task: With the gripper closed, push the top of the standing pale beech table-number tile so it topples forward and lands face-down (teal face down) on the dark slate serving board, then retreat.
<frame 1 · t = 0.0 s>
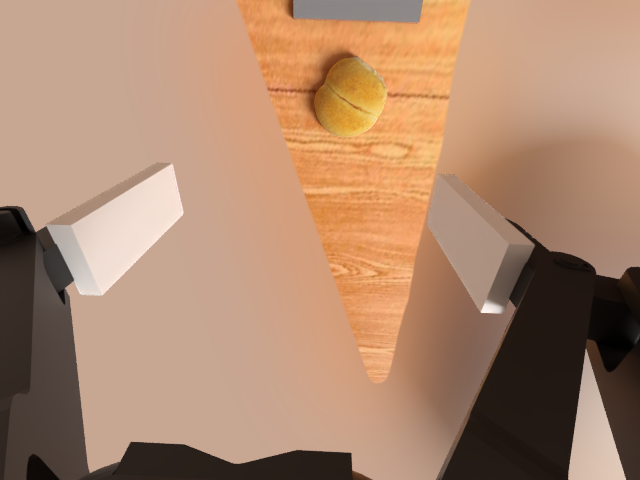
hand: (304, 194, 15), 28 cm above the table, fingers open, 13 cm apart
bread roll: (349, 98, 38), on the table
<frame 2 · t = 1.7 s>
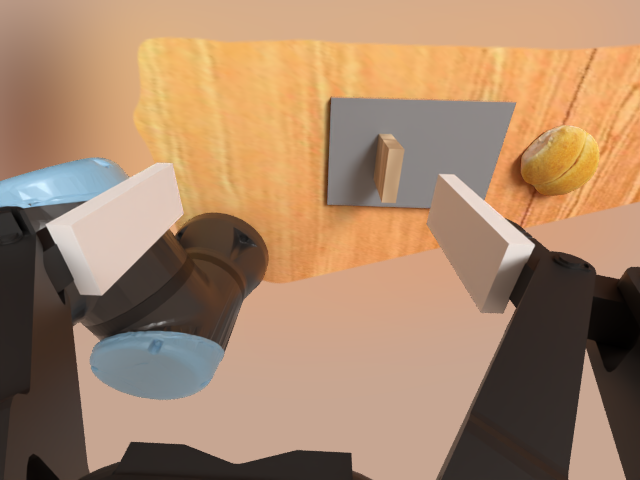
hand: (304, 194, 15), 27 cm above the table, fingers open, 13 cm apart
slate board: (410, 156, 40), on the table
tile: (382, 157, 39), point 1 cm above the table, touching slate board
bread roll: (550, 159, 40), on the table
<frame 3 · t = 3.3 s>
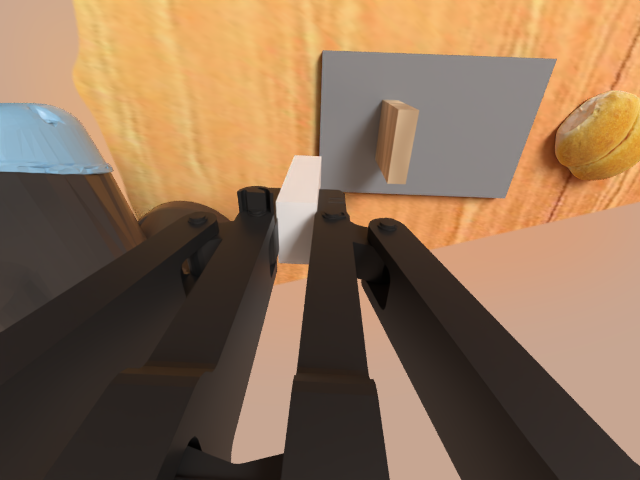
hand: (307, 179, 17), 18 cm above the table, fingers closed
slate board: (420, 130, 32), on the table
tile: (386, 131, 31), point 1 cm above the table, touching slate board
bread roll: (590, 135, 33), on the table
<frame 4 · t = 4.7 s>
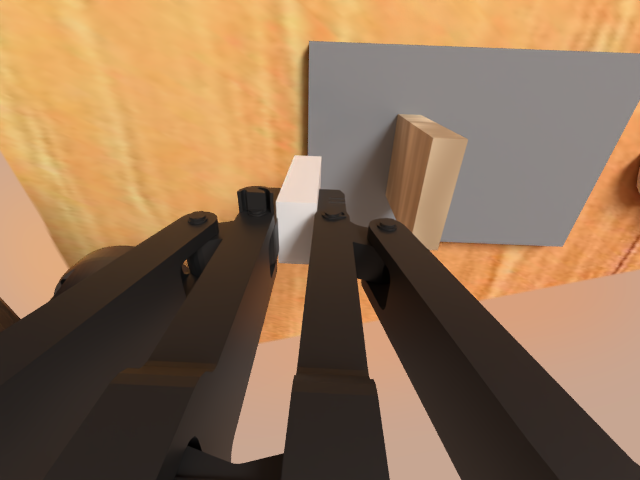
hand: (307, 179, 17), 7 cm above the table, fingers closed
slate board: (450, 155, 23), on the table
tile: (402, 158, 22), point 1 cm above the table, touching slate board
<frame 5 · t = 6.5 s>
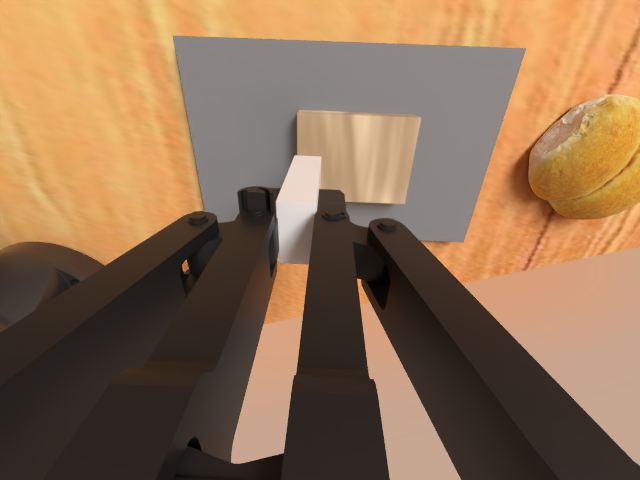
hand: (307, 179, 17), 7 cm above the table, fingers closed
slate board: (340, 151, 23), on the table
tile: (298, 156, 21), point 2 cm above the table, tilted 90°, touching slate board
bread roll: (579, 157, 23), on the table
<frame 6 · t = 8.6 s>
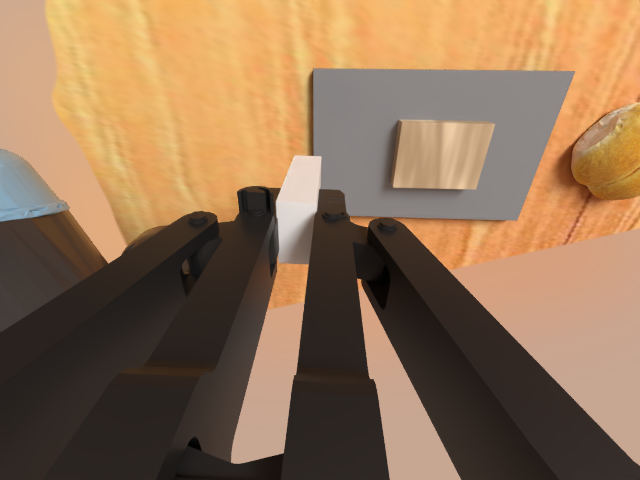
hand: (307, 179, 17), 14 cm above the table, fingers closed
slate board: (423, 149, 30), on the table
tile: (395, 154, 28), point 2 cm above the table, tilted 90°, touching slate board
bread roll: (612, 150, 29), on the table
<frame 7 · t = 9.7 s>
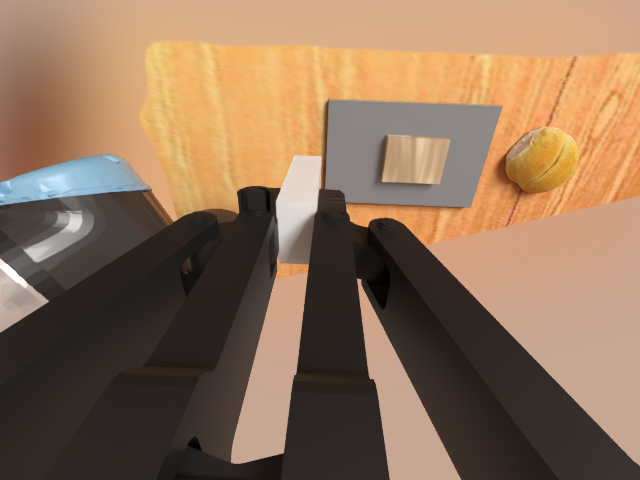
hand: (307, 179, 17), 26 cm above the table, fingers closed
slate board: (403, 155, 42), on the table
tile: (384, 158, 40), point 2 cm above the table, tilted 90°, touching slate board
bread roll: (533, 158, 42), on the table
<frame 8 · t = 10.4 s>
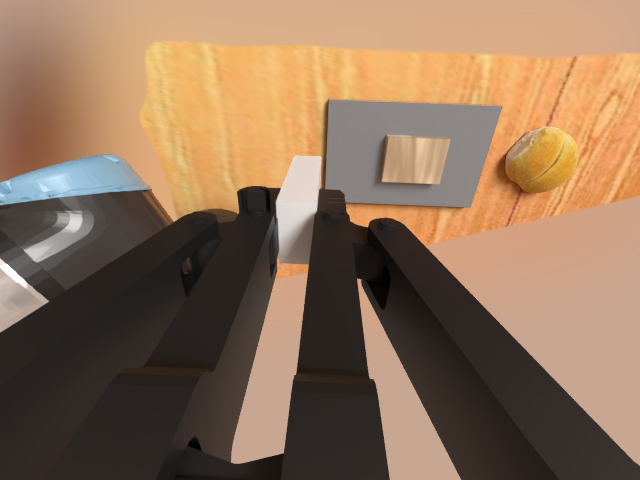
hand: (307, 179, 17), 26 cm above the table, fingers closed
slate board: (403, 155, 42), on the table
tile: (384, 158, 40), point 2 cm above the table, tilted 90°, touching slate board
bread roll: (533, 158, 42), on the table
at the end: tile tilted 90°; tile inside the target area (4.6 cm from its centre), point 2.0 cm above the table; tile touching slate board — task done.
